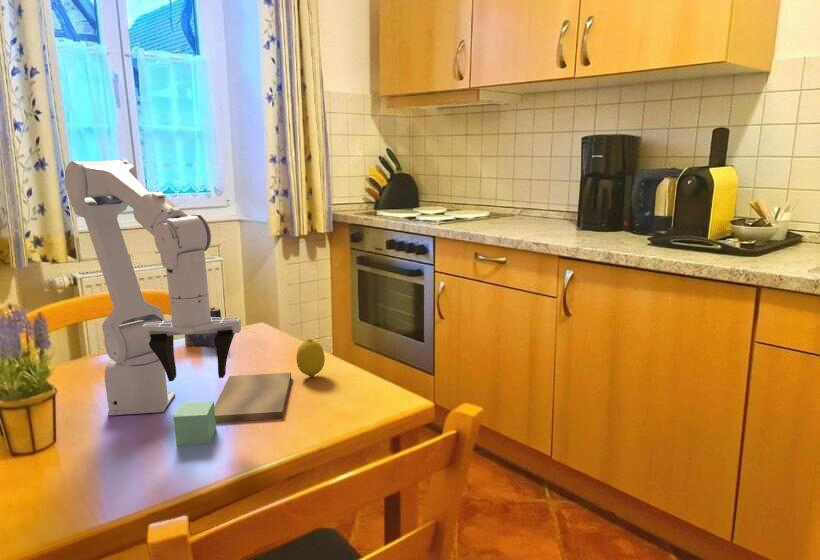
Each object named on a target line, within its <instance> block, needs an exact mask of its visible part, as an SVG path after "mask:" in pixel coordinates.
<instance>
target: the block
mask: <svg viewBox="0 0 820 560" xmlns="http://www.w3.org/2000/svg"><path fill="white" fill-rule="evenodd" d="M214 406H215V401H198V402H196V401H195V402H182V403H181V404H180V406H179V407H178V409H177V411H176V412H175V414H174V416H173V424H174V433H175V442H176V447H181V446H183V447H184V446H199V445H201V446H202V445H210V444H211V442H212V440H213V438H214V435H215V434H216V431H217V422H216V420H215V410H214Z"/></svg>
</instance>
